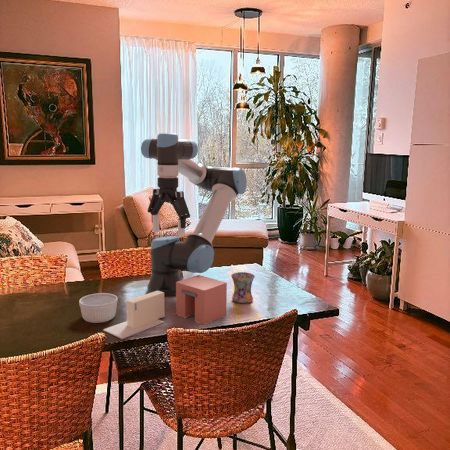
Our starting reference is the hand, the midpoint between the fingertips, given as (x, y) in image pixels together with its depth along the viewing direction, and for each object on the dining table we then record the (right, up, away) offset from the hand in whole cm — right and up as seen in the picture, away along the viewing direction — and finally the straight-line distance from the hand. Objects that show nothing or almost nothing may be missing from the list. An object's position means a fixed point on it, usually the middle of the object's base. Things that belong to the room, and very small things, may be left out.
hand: (168, 234), depth 167 cm
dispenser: (+12, -30, -1) cm, 32 cm away
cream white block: (-7, -30, -9) cm, 32 cm away
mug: (+28, -27, +15) cm, 42 cm away
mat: (-10, -31, -12) cm, 35 cm away
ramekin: (-24, -30, -5) cm, 39 cm away
